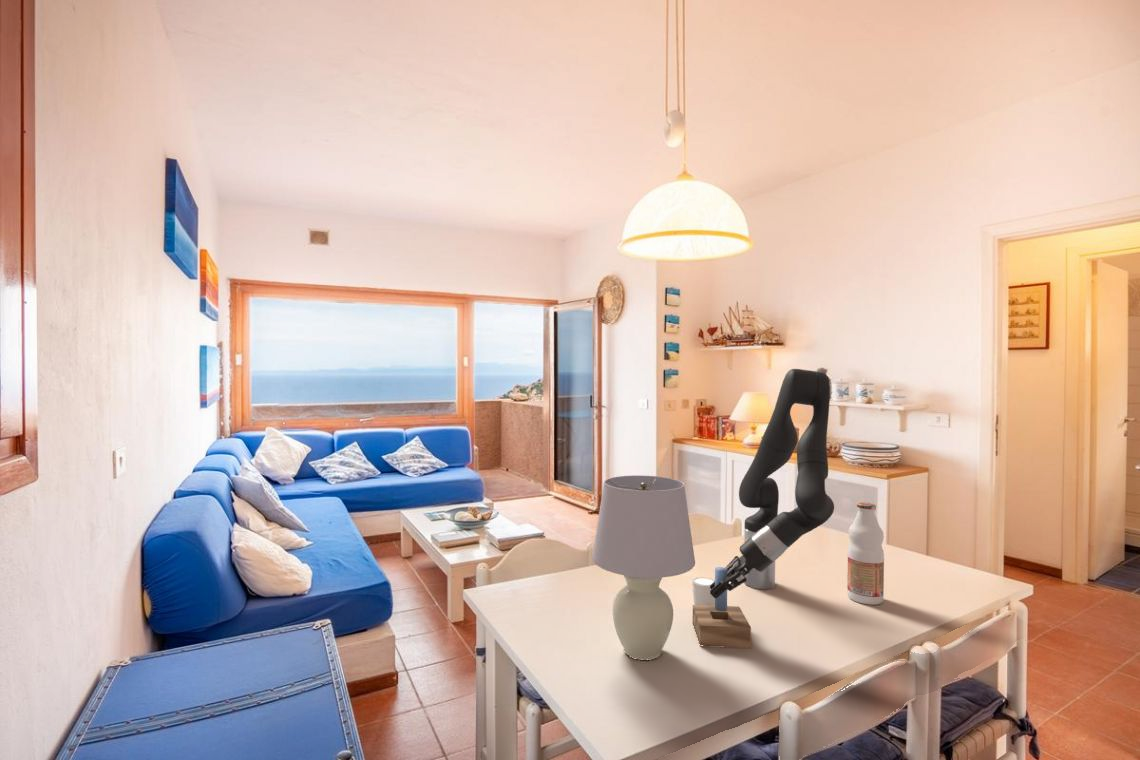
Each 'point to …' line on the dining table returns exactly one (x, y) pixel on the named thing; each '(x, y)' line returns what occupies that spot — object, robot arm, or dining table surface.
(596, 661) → the dining table surface
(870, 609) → the dining table surface
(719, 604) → the peg
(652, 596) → the lamp
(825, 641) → the dining table surface
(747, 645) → the hole block
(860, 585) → the fruit juice
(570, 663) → the dining table surface
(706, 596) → the white cup
